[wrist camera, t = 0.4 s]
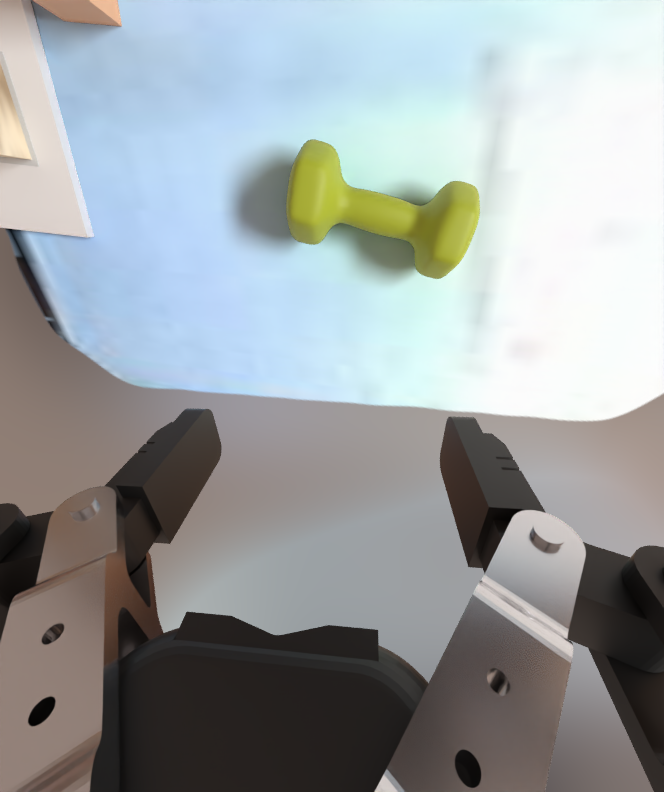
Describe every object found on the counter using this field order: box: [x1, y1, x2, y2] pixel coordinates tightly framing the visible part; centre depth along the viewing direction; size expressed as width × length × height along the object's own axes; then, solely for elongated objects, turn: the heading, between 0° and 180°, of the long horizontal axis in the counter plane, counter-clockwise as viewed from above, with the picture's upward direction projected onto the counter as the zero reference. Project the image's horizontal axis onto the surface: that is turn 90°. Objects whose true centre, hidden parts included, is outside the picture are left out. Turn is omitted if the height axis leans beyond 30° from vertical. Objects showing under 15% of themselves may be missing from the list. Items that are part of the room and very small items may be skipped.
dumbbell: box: [286, 140, 480, 279], centre depth 28 cm, size 16×8×7 cm, turn 76°
